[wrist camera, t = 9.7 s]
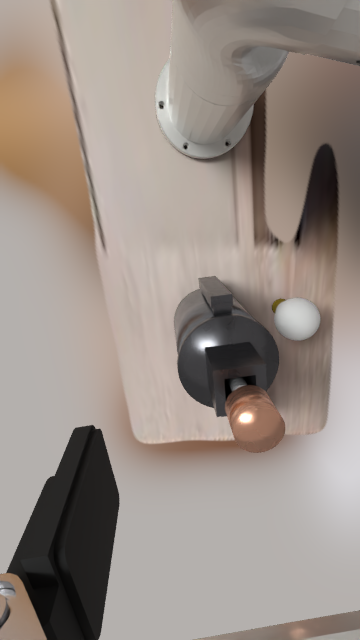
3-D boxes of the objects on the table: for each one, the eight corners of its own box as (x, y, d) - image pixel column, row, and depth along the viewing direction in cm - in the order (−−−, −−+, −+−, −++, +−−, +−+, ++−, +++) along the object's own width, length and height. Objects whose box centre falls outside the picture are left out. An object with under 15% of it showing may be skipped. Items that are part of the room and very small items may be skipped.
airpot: (166, 278, 47) (171, 322, 27) (241, 268, 47) (300, 305, 27) (178, 372, 52) (190, 468, 32) (246, 363, 52) (299, 453, 32)
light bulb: (301, 312, 50) (334, 335, 40) (268, 329, 50) (292, 354, 41) (289, 280, 48) (320, 295, 39) (254, 297, 49) (277, 316, 39)
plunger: (210, 354, 33) (232, 412, 23) (247, 349, 33) (285, 405, 23) (213, 386, 34) (235, 455, 24) (249, 382, 34) (285, 448, 24)
